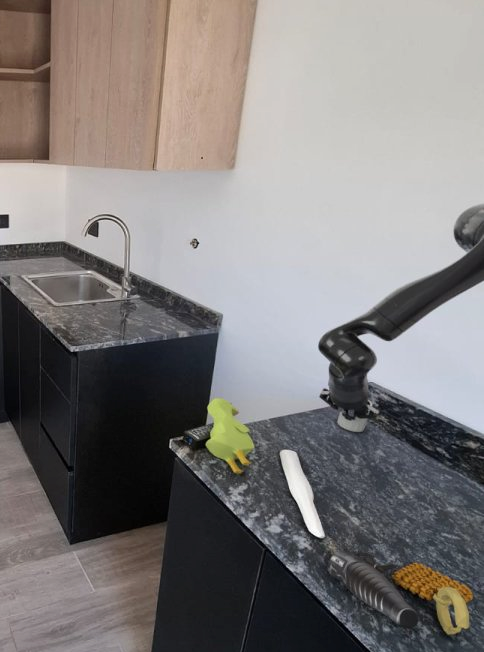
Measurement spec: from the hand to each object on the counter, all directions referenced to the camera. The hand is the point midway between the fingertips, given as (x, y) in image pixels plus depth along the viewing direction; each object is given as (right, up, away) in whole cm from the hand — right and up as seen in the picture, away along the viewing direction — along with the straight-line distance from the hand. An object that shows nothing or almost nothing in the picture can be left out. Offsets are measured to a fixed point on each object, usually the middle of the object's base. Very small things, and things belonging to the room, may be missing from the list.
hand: (349, 416), depth 120 cm
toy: (-33, -8, -18) cm, 39 cm away
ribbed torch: (-22, -20, -44) cm, 53 cm away
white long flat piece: (-25, -11, -21) cm, 35 cm away
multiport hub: (-39, -5, -5) cm, 39 cm away
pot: (+3, -3, +4) cm, 5 cm away
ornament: (-15, -18, -40) cm, 46 cm away
